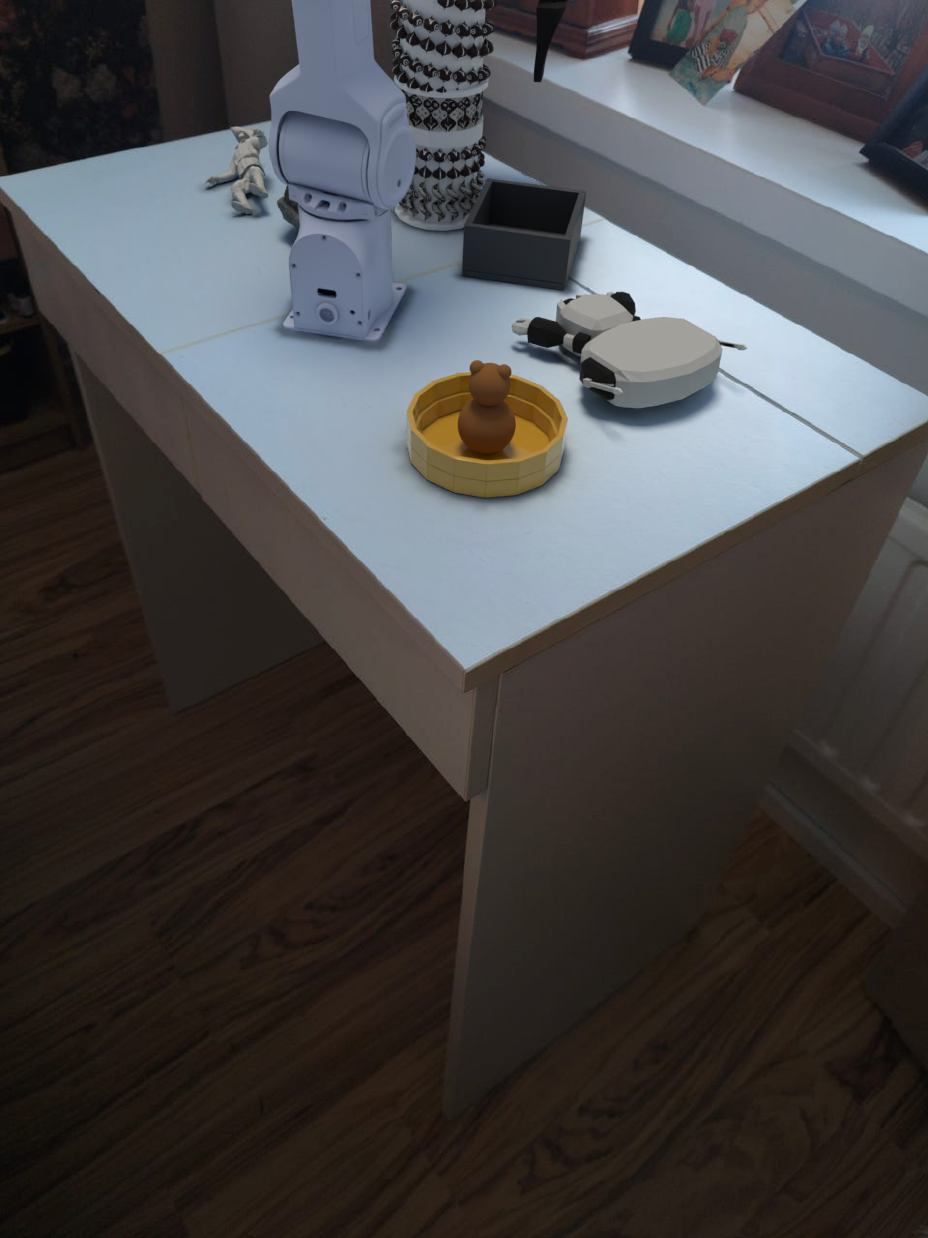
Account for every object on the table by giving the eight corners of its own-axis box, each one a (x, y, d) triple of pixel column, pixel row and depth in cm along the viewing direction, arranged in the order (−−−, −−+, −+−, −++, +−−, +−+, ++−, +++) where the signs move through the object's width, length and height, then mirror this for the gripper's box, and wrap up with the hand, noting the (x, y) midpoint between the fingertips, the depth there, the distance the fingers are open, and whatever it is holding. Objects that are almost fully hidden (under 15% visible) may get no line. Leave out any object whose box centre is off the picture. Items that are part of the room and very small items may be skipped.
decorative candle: (495, 198, 100) (515, -106, 82) (473, 238, 94) (488, -82, 76) (407, 185, 102) (407, -118, 84) (379, 224, 95) (373, -95, 77)
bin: (564, 290, 88) (570, 239, 85) (461, 275, 89) (463, 224, 86) (580, 239, 95) (586, 190, 92) (484, 226, 96) (487, 177, 93)
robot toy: (499, 358, 81) (619, 443, 72) (501, 305, 78) (626, 386, 69) (617, 320, 86) (743, 395, 77) (623, 269, 83) (755, 340, 74)
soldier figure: (210, 226, 96) (188, 139, 101) (249, 249, 100) (226, 165, 104) (264, 172, 92) (239, 84, 97) (302, 198, 96) (277, 113, 101)
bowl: (548, 513, 67) (553, 474, 64) (390, 486, 68) (389, 447, 66) (571, 422, 74) (576, 384, 72) (428, 399, 75) (428, 361, 73)
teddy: (507, 469, 69) (515, 384, 64) (450, 460, 70) (454, 374, 65) (518, 436, 72) (526, 352, 67) (463, 427, 72) (467, 343, 68)
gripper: (592, -106, 87) (579, 61, 97) (427, -115, 88) (432, 50, 99) (583, -77, 82) (570, 94, 93) (409, -87, 84) (417, 82, 95)
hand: (498, 74), depth 96 cm, fingers open, 7 cm apart
